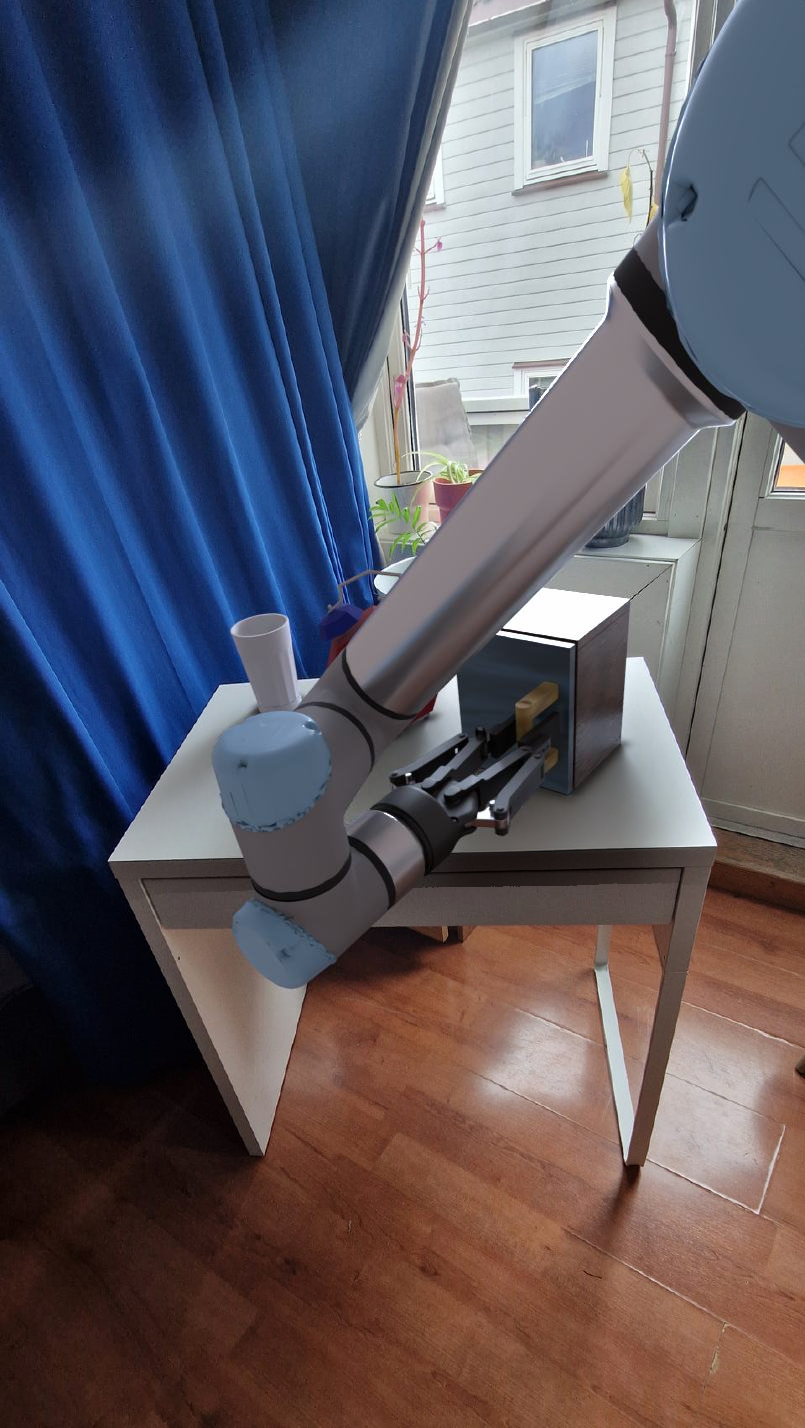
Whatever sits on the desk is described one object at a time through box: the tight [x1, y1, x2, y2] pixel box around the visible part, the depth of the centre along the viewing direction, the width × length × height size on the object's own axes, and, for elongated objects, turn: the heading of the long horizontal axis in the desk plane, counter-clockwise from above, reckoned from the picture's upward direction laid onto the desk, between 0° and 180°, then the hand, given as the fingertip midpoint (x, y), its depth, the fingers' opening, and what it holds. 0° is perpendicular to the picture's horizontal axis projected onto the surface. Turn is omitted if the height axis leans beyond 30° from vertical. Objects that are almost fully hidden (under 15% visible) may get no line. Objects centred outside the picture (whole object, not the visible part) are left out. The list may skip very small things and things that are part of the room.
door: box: [456, 631, 575, 796], centre depth 76 cm, size 7×14×17 cm, turn 49°
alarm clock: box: [318, 569, 439, 726], centre depth 91 cm, size 15×9×20 cm, turn 97°
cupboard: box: [500, 587, 631, 790], centre depth 81 cm, size 11×14×17 cm
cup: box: [230, 613, 303, 714], centre depth 101 cm, size 8×8×12 cm
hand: (542, 720), depth 73 cm, fingers open, 2 cm apart
